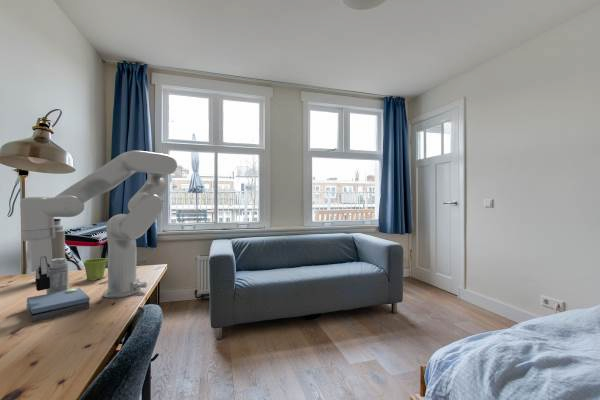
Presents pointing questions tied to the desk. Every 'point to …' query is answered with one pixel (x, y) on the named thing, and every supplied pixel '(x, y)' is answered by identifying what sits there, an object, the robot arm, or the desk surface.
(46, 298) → the plate
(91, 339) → the desk surface
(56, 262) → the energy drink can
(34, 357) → the desk surface
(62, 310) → the tribrach base
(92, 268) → the plant pot
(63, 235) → the thermos bottle
